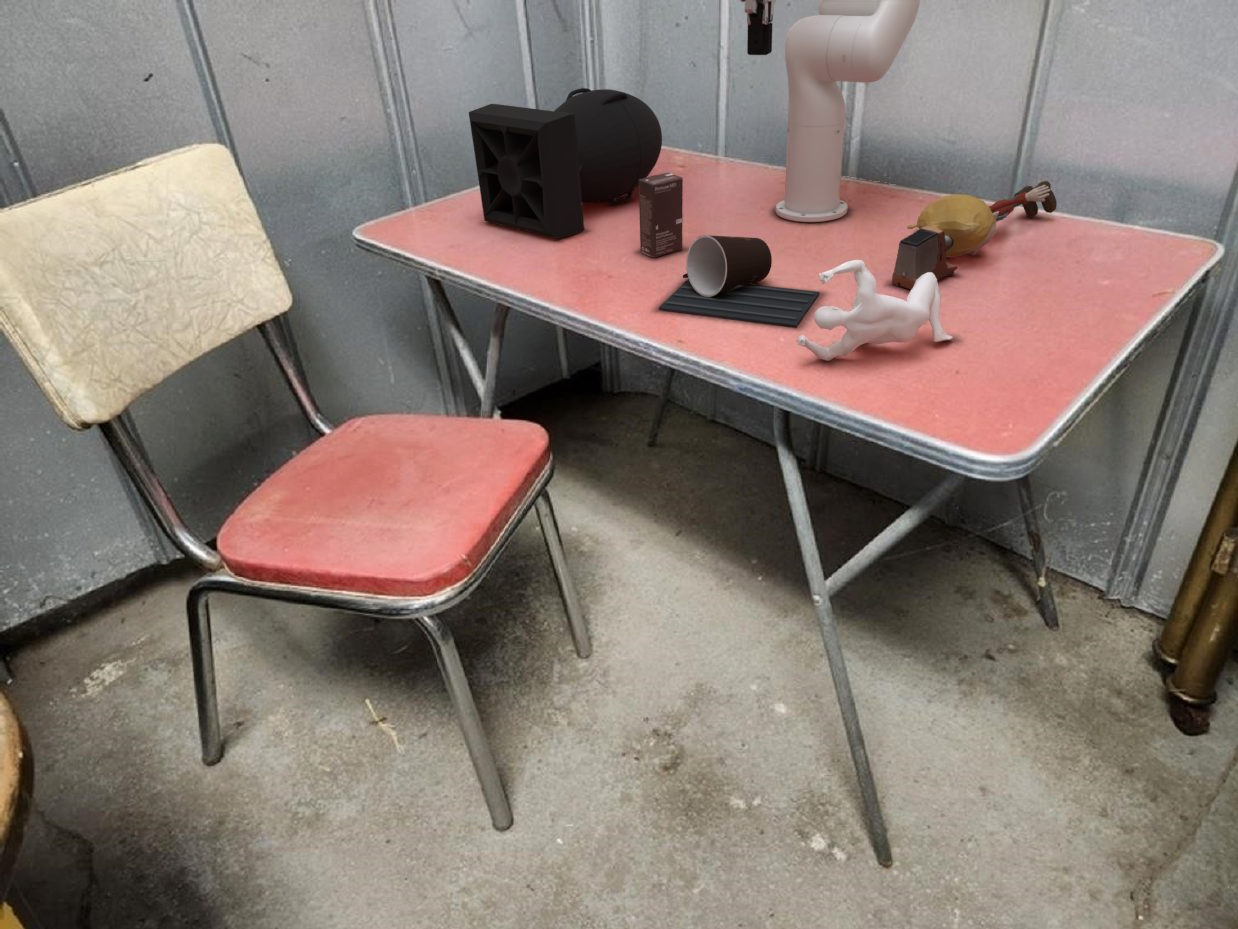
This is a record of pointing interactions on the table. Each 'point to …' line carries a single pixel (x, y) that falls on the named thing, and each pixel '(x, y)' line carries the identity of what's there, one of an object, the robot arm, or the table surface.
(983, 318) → the table surface
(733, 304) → the drying mat
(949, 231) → the toy
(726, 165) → the table surface
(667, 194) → the box
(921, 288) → the person figurine
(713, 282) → the coffee mug
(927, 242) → the electronic device
